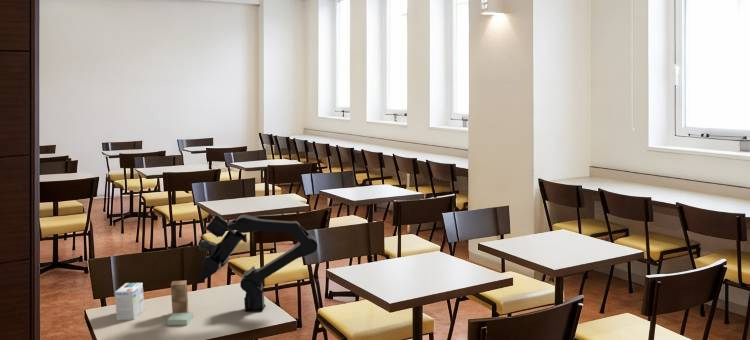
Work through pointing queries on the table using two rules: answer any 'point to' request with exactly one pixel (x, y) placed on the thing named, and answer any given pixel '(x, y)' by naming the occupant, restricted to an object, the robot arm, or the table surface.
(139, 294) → the light bulb box
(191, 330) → the table surface
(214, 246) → the robot arm
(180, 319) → the plinth
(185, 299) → the pillar
